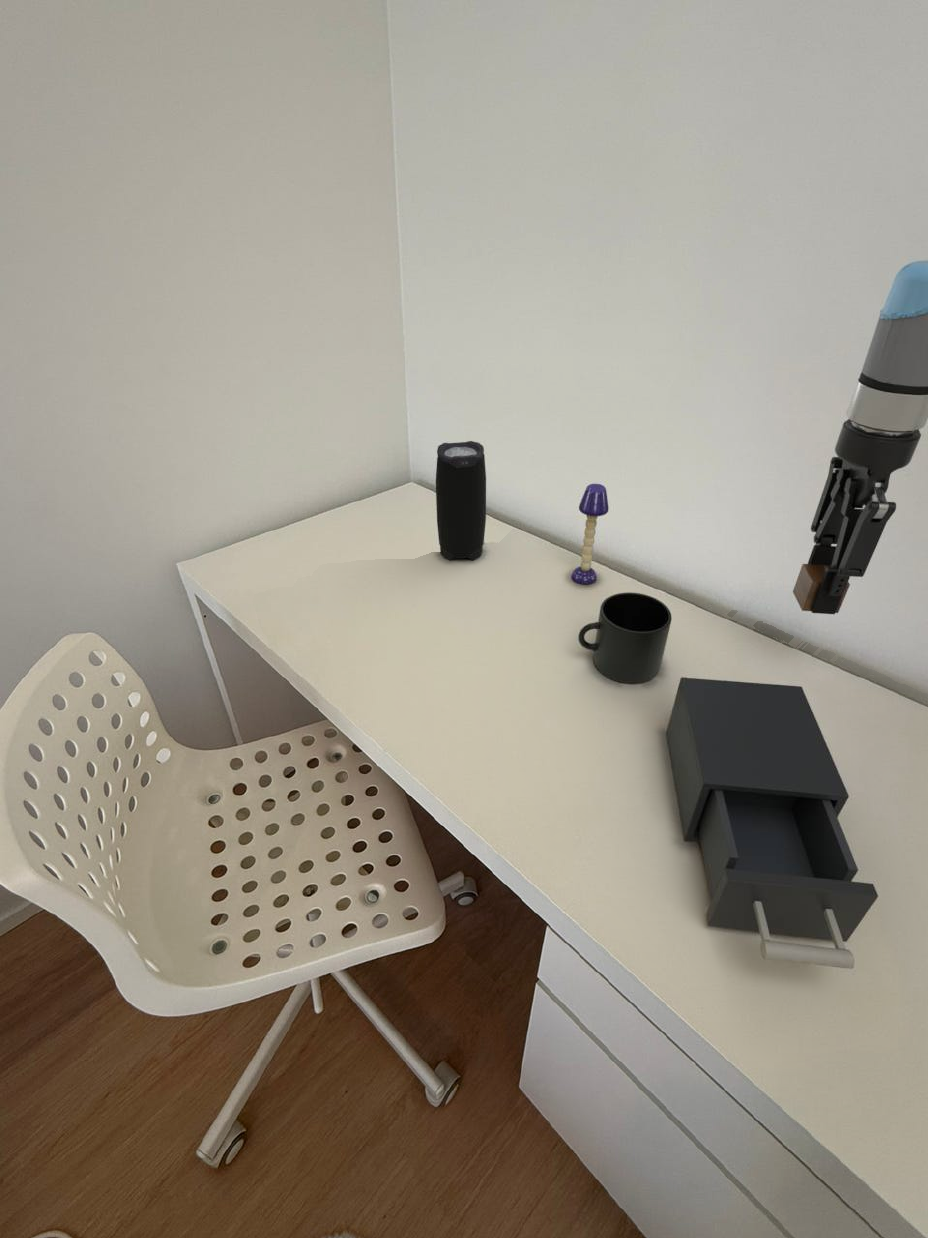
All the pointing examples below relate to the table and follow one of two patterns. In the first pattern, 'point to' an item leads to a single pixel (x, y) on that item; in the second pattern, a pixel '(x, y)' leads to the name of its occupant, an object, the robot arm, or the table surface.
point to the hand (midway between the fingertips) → (816, 600)
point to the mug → (629, 637)
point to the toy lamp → (590, 529)
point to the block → (811, 586)
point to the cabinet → (746, 745)
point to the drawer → (782, 873)
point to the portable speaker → (461, 499)
